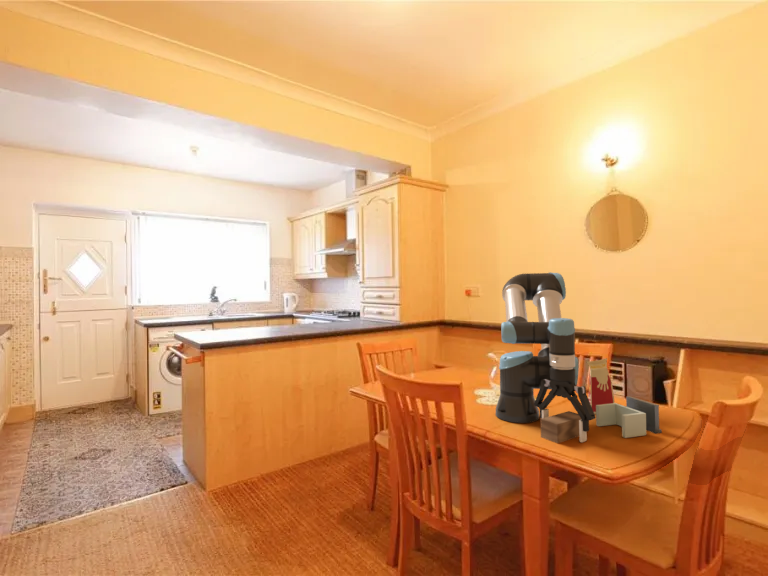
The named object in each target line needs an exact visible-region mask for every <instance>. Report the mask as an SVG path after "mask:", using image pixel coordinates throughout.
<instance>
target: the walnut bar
mask: <svg viewBox="0 0 768 576" xmlns="http://www.w3.org/2000/svg"><path fill="white" fill-rule="evenodd" d="M579 420H581V418H580V416H579V414H578V413H577V412H573V411H570V410H568V411H564V412H561V413H556V414H553V415H549V417H546V418H542V419H541V418H540V438H542V439H545V440H548V441H550V442H553V443H555V444H561V443H563V442H566V441H569V440H571V439H576V438H578V437H579Z"/></svg>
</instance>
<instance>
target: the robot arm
mask: <svg viewBox="0 0 768 576" xmlns="http://www.w3.org/2000/svg"><path fill="white" fill-rule="evenodd" d="M566 289H567V288H566V282H565V279H564V277H563V275H562V274H561V273H559V272H549V271H548V273H547V272H546V273H545V272H542V273H541V272H538V273H535V272H534V273H531V272H530V273H529V272H528V273H520V274H517V275H515V276H513V277H511V278H509V279H508V280H507V281H506V282H505V284H504V286H503V287H502V289H501V290H502V292H501V297H502V299H503V301H504V304H505V321H502V322H501V324H500V328H501V333H500V334H501V335H500V336H501V342H502V343H505V344H512V345H515V344H517V345H518V344H523V345H524V344H525V345H527V344H528V345H529V344H531V345H532V344H535V345H536V344H537V345H539V344H540V346H541V348H540V350H539V351H538V353H537V355H534V353H533V351H529V350H527V351H525V350H518V351H511V352H506V353H504V354H501V356H500V358H499V366H498V369H499V390H500V391H499V393H500V394H499V397H498V401H497V403H496V406H495V417H497V418H498V419H500V420H503V421H505V422H510V423H517V424H518V423H519V424H525V423H533V422H537V421H538V420H541V419H542V418H546V417H549V416H550V414H549V411H550V410H549V408H548V407H549V405H550V403H551V402H552V401H553V400H554V399H555V398H556V397H562V398H564V399H567V400H568V401H569V402H570V403H571V405H572V406H573V408H574V410H575V411H576V413H577V414H579V416H580V418H581V420H579V436H578V437H579V439H578V440H579V441H578V442H580V443H584V442H586V441H587V440H588V436H587V434H588V433H587V432H589V431H590V421H593V420H596V414H594V412H593V409H592V407H591V404H590V402H589V400H588V394H587V390H586V389H587V387H586V386H584V385H582V386H578V385H577V384H578V379H579V378H578V377H579V358H578V357H576V351H575V350H576V347H575V346H576V345H575V342H576V341H575V340H576V339H575V338H576V335H575V333H576V328H575V321H574V320H573V319H572V318H565V317H562V314H561V313H562V312H561V304H562V302H563V301H564V300H565V299H566V296H567V295H566V294H567V290H566ZM525 301H532V304H533V305H534V306H535V307H536V308H537V318H538V321H529V320H528V314H527V306H526V302H525ZM534 389H535V390H536V389H537V390H539V391H538V393H537V396H536V398H535V395H534V392H535V391H534ZM548 390H550V391H549V392H548ZM547 392H548V395H546V394H547Z"/></svg>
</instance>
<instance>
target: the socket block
mask: <svg viewBox="0 0 768 576" xmlns="http://www.w3.org/2000/svg"><path fill="white" fill-rule="evenodd" d="M595 417H596V418H595V422H596V426H597V427H604V426H605V427H606V426H612V425H617V426H619V427H621V433H622V434H621V437H623V438H625V439H628V438H635V437H641V436H647V430H646V413H643V412H641V411H638V410H635V409H632V408H629V407H626V405H623V404H619V403H617V402H614V403H610V404H601V405H596V414H595Z"/></svg>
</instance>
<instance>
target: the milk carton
mask: <svg viewBox="0 0 768 576" xmlns="http://www.w3.org/2000/svg"><path fill="white" fill-rule="evenodd" d="M607 361H608V358H602V359H598V360H592V361H585V362H586V363H587V365H588V367H589V369H590V370H589V379H588V380H589V381H588V394H587V397H588V400H589V402H590V404H591V407H592V409H593V412H594V414H595V415H596V405H601V404H610V403H615V395H614V387H613V381H612V379H611V376H610V373H609V370H608V367H607V366H608V362H607Z"/></svg>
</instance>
